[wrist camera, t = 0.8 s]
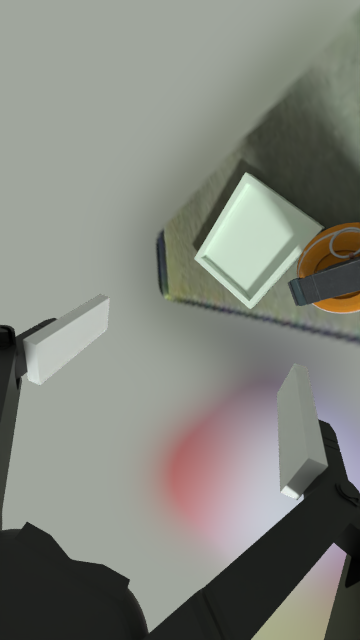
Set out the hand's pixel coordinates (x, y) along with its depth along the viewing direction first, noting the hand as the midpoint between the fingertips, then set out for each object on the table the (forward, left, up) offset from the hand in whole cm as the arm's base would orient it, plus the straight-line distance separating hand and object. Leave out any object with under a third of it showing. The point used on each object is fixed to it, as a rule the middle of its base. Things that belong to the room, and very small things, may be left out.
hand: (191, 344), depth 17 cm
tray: (+1, -8, -30) cm, 31 cm away
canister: (-7, +5, -30) cm, 32 cm away
